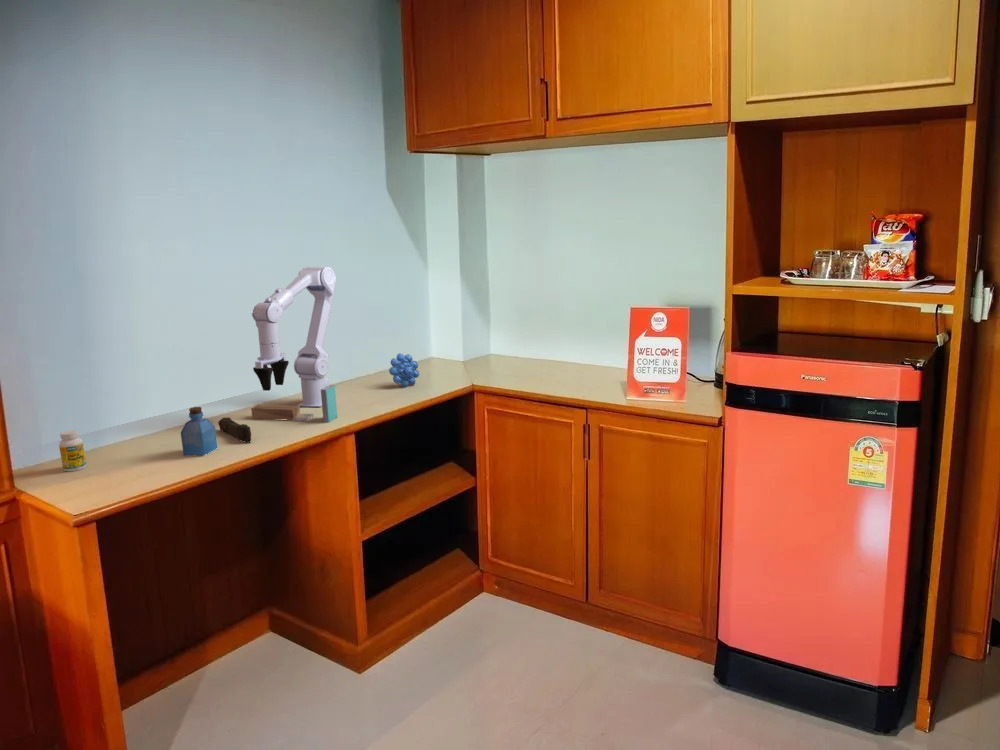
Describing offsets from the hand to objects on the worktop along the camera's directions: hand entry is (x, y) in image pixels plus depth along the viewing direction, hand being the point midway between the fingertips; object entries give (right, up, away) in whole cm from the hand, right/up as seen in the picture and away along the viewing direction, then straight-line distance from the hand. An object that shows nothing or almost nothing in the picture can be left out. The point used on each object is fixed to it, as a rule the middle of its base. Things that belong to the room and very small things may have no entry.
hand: (273, 387), depth 248 cm
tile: (+18, -10, -3) cm, 20 cm away
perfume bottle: (-11, -17, -29) cm, 35 cm away
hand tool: (-5, -14, -15) cm, 21 cm away
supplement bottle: (-40, -20, -39) cm, 59 cm away
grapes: (+36, -1, +35) cm, 50 cm away
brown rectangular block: (+2, -9, +2) cm, 10 cm away
